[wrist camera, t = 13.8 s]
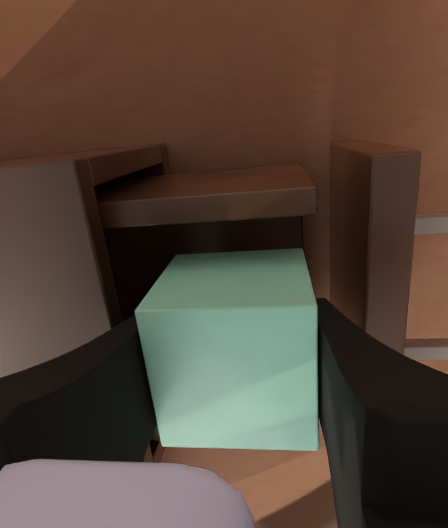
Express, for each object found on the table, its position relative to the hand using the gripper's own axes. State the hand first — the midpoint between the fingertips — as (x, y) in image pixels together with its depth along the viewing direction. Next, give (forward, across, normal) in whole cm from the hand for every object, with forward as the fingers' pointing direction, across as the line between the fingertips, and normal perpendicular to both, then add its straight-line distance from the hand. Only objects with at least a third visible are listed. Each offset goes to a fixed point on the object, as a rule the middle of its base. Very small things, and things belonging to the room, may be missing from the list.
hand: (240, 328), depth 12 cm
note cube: (+1, 0, 0) cm, 1 cm away
